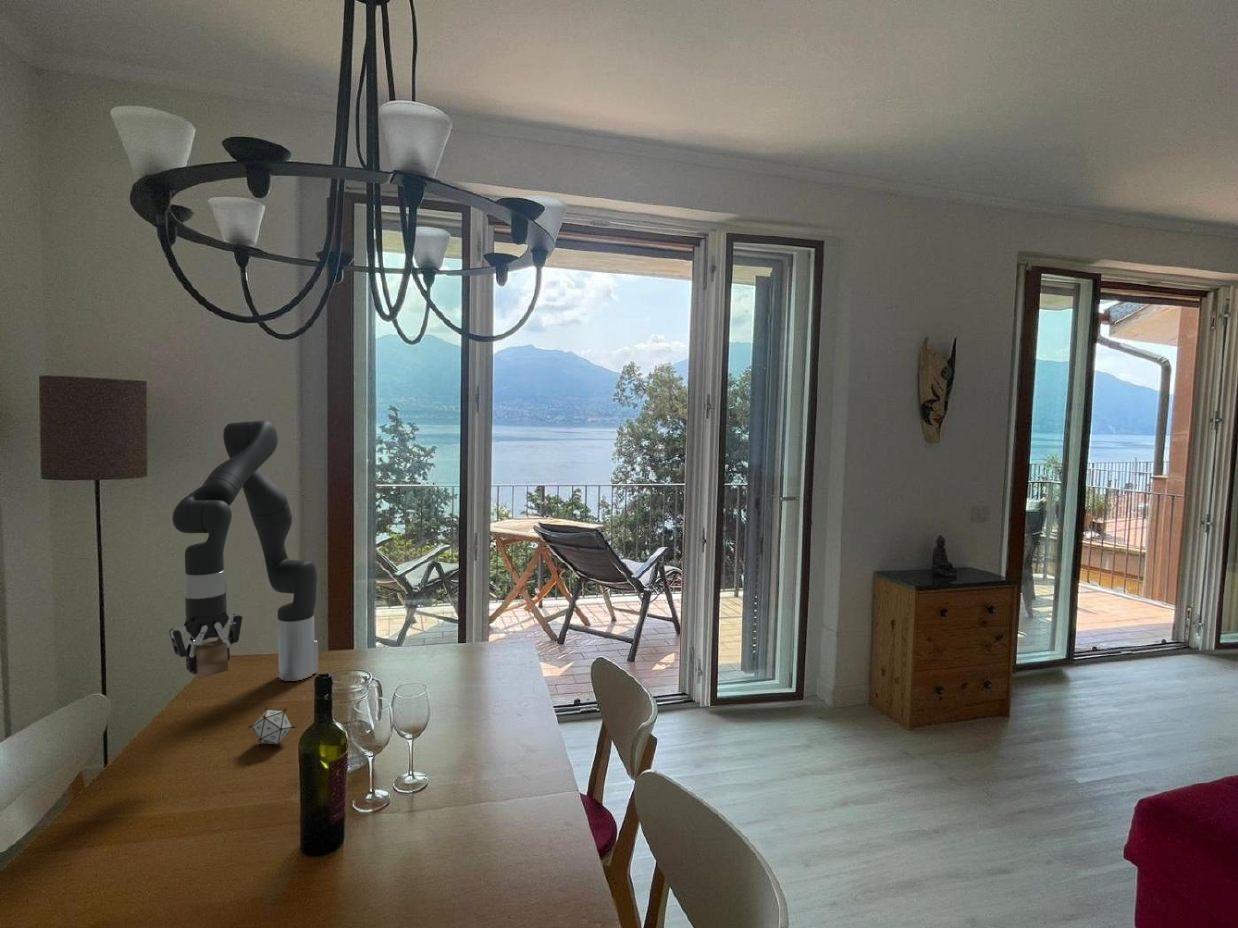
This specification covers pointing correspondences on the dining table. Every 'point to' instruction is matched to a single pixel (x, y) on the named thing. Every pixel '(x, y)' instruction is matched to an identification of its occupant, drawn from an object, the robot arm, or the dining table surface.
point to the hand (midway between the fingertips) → (208, 667)
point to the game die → (272, 726)
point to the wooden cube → (211, 658)
